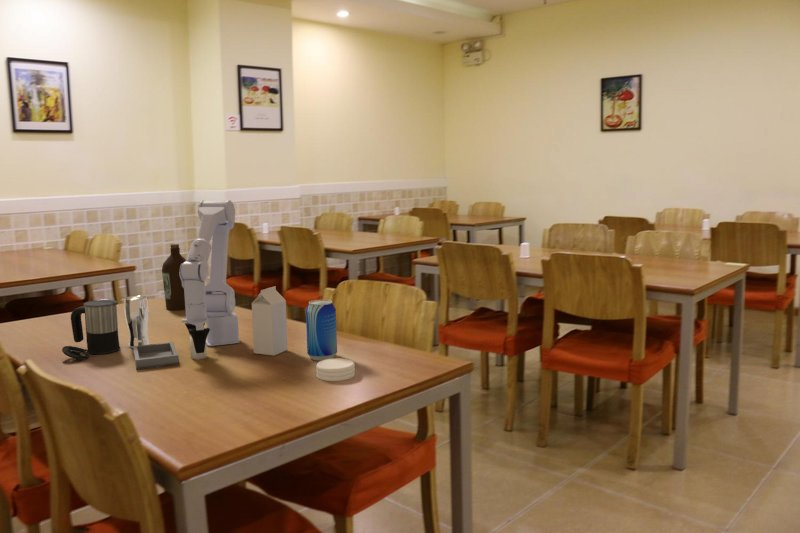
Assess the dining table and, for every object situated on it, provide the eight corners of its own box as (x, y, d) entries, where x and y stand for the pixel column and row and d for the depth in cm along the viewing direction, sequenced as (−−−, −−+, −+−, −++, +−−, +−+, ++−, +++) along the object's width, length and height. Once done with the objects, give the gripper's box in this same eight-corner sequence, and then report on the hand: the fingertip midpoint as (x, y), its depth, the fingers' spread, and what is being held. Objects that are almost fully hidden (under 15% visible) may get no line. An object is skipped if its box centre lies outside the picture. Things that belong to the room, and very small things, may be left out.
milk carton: (288, 350, 198) (285, 287, 195) (273, 356, 192) (271, 291, 189) (268, 347, 201) (265, 285, 198) (253, 353, 195) (250, 289, 192)
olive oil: (187, 303, 269) (184, 242, 265) (196, 308, 260) (192, 244, 257) (161, 307, 263) (156, 244, 259) (169, 311, 254) (164, 246, 251)
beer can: (324, 362, 184) (323, 306, 182) (301, 358, 189) (299, 303, 187) (343, 355, 192) (341, 300, 189) (320, 351, 196) (318, 298, 194)
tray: (173, 350, 199) (172, 341, 199) (178, 364, 185) (178, 355, 185) (133, 355, 195) (133, 346, 195) (136, 369, 181) (135, 360, 180)
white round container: (319, 370, 178) (319, 357, 178) (356, 370, 178) (356, 357, 177) (313, 382, 168) (313, 368, 168) (353, 382, 168) (352, 368, 168)
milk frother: (124, 345, 206) (120, 298, 204) (112, 359, 191) (108, 308, 188) (74, 348, 203) (70, 300, 201) (58, 363, 188) (53, 311, 186)
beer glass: (142, 348, 202) (139, 300, 200) (122, 347, 203) (118, 299, 201) (155, 342, 209) (152, 295, 206) (135, 342, 210) (132, 295, 208)
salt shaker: (205, 354, 195) (204, 327, 194) (207, 358, 191) (206, 330, 190) (190, 356, 193) (188, 329, 192) (191, 360, 189) (190, 332, 188)
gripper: (178, 299, 195) (181, 345, 197) (183, 309, 181) (186, 357, 183) (203, 297, 197) (205, 342, 199) (210, 306, 184) (213, 354, 186)
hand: (198, 349), depth 192 cm, fingers open, 7 cm apart
